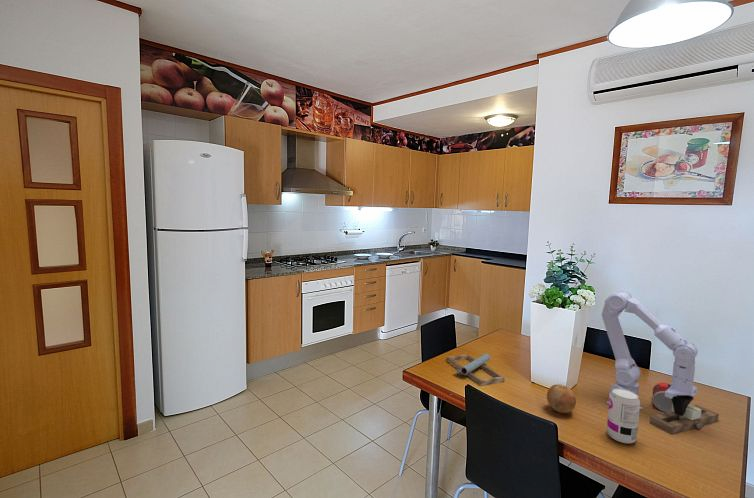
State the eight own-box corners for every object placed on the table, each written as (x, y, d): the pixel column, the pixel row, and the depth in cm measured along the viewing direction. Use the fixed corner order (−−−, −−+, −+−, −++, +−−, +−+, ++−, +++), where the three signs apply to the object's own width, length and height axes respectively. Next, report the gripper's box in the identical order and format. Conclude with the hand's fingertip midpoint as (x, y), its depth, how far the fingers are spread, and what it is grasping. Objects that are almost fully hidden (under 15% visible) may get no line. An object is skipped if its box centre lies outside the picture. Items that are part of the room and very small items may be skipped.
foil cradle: (480, 385, 155) (480, 381, 155) (446, 361, 181) (446, 357, 181) (504, 381, 159) (504, 377, 159) (467, 358, 185) (467, 354, 185)
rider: (691, 426, 127) (692, 411, 127) (670, 417, 133) (672, 402, 133) (699, 424, 129) (701, 408, 128) (679, 414, 135) (680, 400, 134)
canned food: (681, 400, 143) (682, 412, 134) (656, 401, 148) (656, 412, 139) (674, 381, 144) (675, 391, 135) (649, 382, 149) (649, 392, 140)
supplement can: (603, 436, 121) (607, 393, 120) (610, 427, 127) (613, 385, 125) (633, 448, 115) (637, 402, 114) (638, 437, 121) (642, 393, 120)
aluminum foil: (467, 376, 160) (467, 368, 159) (453, 371, 164) (454, 364, 164) (489, 361, 177) (490, 354, 176) (477, 357, 181) (477, 351, 181)
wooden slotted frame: (675, 436, 122) (676, 429, 122) (645, 421, 131) (646, 414, 131) (722, 422, 131) (723, 416, 131) (691, 409, 140) (692, 403, 140)
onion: (575, 408, 138) (577, 383, 137) (574, 421, 130) (576, 394, 129) (547, 401, 143) (549, 377, 142) (544, 413, 135) (546, 387, 134)
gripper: (682, 385, 122) (678, 423, 123) (709, 379, 127) (704, 416, 128) (659, 376, 128) (656, 413, 130) (685, 370, 134) (682, 406, 135)
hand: (678, 414), depth 129 cm, fingers closed
